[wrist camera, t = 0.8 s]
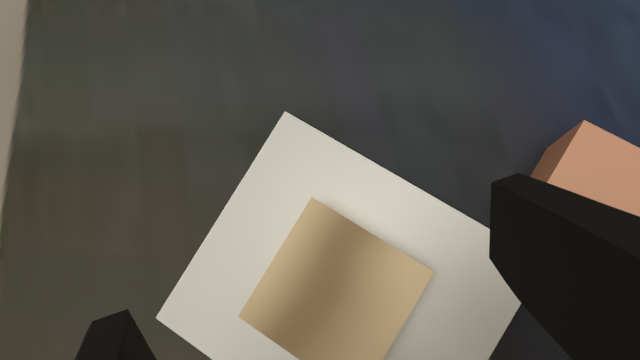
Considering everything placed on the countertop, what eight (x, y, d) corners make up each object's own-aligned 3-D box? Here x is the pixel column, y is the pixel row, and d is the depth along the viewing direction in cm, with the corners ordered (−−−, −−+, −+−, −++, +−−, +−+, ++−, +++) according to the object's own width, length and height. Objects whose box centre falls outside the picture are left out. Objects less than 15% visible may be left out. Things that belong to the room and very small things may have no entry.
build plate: (539, 261, 23) (545, 261, 22) (405, 490, 23) (405, 500, 22) (289, 116, 26) (285, 111, 25) (164, 315, 26) (155, 318, 25)
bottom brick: (431, 270, 23) (434, 272, 20) (362, 385, 23) (357, 400, 20) (320, 203, 24) (311, 196, 22) (254, 310, 24) (237, 316, 21)
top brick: (638, 196, 23) (702, 179, 18) (589, 280, 23) (640, 286, 18) (546, 148, 24) (584, 120, 19) (498, 228, 24) (524, 220, 19)
